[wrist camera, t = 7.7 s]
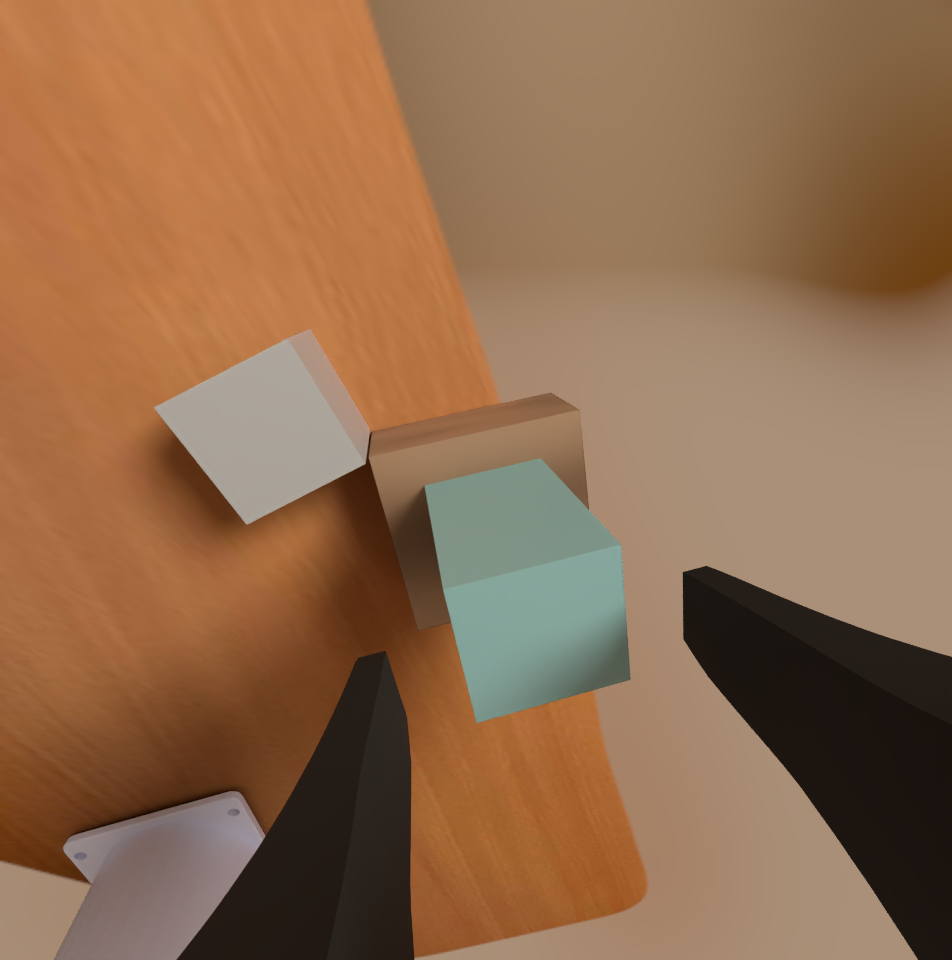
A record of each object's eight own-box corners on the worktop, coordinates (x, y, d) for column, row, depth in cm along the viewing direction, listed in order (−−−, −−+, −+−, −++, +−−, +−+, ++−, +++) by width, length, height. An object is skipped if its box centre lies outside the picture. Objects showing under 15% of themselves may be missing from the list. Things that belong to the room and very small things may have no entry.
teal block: (554, 558, 17) (630, 679, 12) (448, 585, 17) (476, 723, 12) (540, 458, 16) (620, 544, 10) (424, 485, 15) (443, 589, 10)
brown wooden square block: (569, 546, 21) (596, 584, 18) (414, 585, 20) (418, 630, 18) (551, 392, 18) (579, 409, 15) (371, 431, 18) (368, 456, 15)
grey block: (370, 428, 18) (365, 463, 14) (276, 477, 18) (246, 524, 14) (310, 328, 16) (287, 338, 12) (207, 382, 16) (154, 407, 12)
